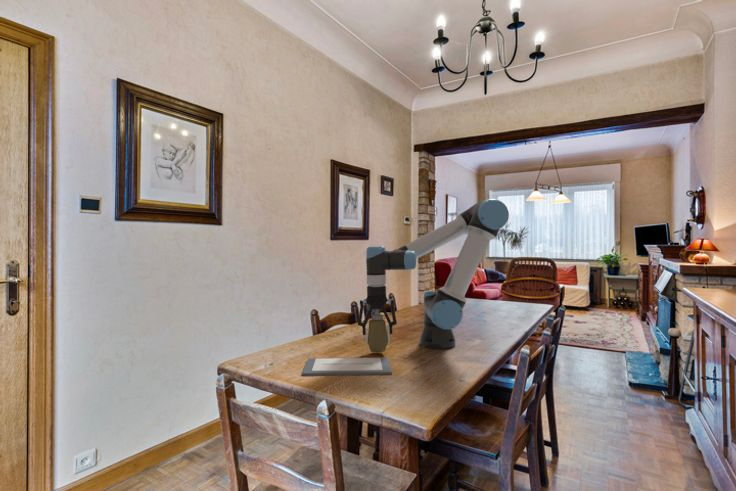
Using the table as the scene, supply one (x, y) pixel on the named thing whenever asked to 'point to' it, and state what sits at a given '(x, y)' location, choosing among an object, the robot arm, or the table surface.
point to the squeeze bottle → (377, 333)
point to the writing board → (347, 366)
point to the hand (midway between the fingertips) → (377, 342)
